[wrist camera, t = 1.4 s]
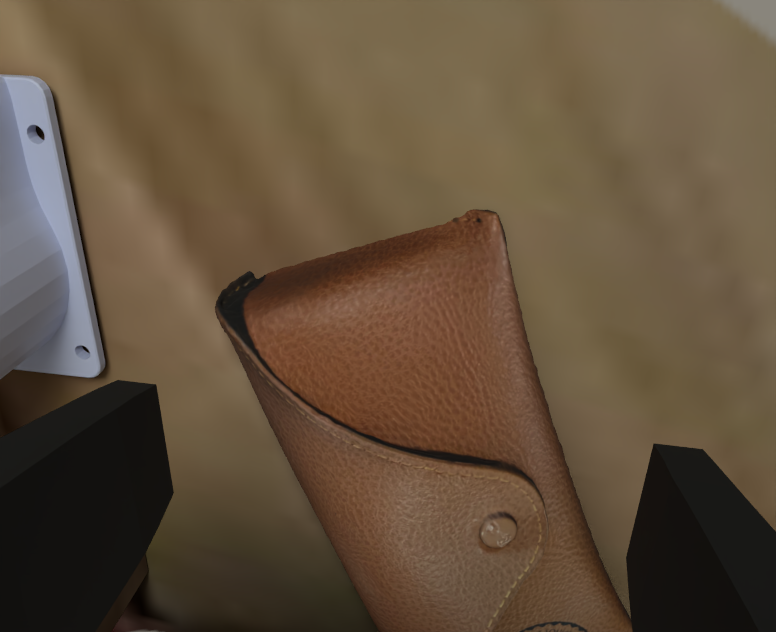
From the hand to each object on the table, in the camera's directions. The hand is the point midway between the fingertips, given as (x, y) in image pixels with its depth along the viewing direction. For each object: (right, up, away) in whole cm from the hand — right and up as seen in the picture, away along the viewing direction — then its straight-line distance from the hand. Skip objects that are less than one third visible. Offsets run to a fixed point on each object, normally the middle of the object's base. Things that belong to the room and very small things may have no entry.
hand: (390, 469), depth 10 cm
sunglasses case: (+2, -3, +14) cm, 14 cm away
